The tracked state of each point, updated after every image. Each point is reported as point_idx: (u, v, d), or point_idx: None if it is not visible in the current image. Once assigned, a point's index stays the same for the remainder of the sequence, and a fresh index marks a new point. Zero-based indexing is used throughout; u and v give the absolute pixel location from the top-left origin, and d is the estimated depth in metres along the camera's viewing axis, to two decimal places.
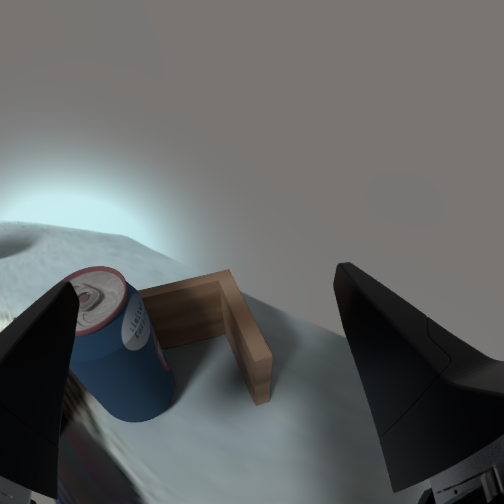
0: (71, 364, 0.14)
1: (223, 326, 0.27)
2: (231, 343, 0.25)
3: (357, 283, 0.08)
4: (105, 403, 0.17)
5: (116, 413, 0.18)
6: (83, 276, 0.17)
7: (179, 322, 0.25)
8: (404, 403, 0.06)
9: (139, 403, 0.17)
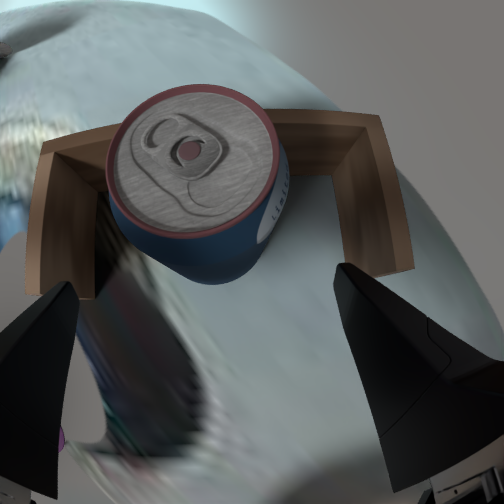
0: (153, 258, 0.10)
1: (335, 169, 0.21)
2: (341, 196, 0.20)
3: (357, 283, 0.08)
4: None
5: (188, 278, 0.17)
6: (182, 99, 0.09)
7: (289, 155, 0.18)
8: (404, 403, 0.06)
9: (228, 277, 0.16)
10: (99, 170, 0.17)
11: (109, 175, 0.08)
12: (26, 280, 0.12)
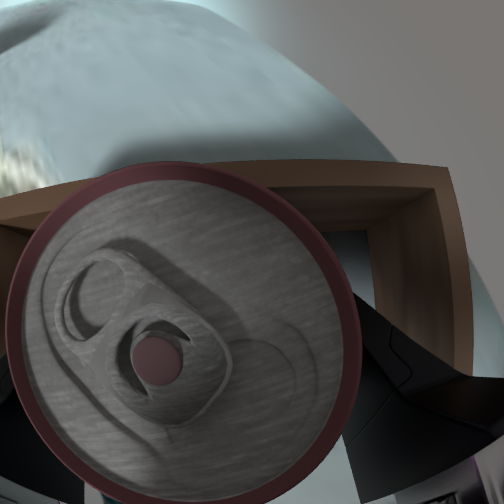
0: None
1: (373, 225, 0.15)
2: (381, 264, 0.15)
3: None
4: None
5: None
6: (131, 200, 0.04)
7: (318, 216, 0.13)
8: (365, 415, 0.05)
9: None
10: None
11: (20, 385, 0.03)
12: None
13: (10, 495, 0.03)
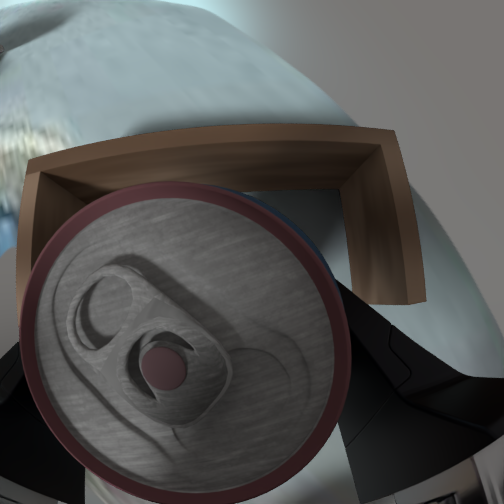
0: None
1: (343, 183, 0.19)
2: (350, 213, 0.19)
3: None
4: None
5: None
6: (136, 217, 0.04)
7: (295, 171, 0.17)
8: (364, 415, 0.05)
9: None
10: (90, 187, 0.16)
11: (35, 390, 0.04)
12: (18, 312, 0.11)
13: (10, 495, 0.03)
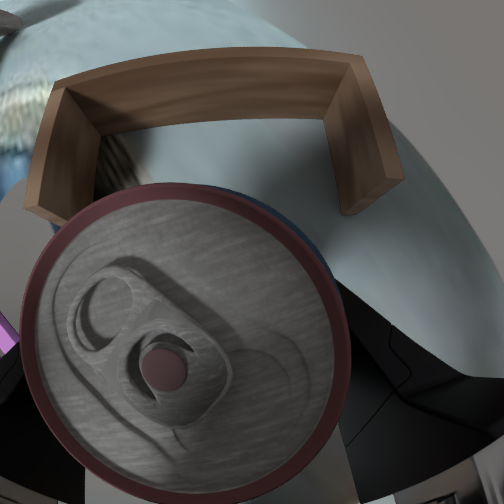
0: None
1: (325, 111, 0.21)
2: (332, 134, 0.20)
3: None
4: None
5: None
6: (136, 219, 0.04)
7: (281, 93, 0.18)
8: (364, 415, 0.05)
9: None
10: (104, 108, 0.17)
11: (35, 391, 0.04)
12: (26, 196, 0.12)
13: (10, 495, 0.03)
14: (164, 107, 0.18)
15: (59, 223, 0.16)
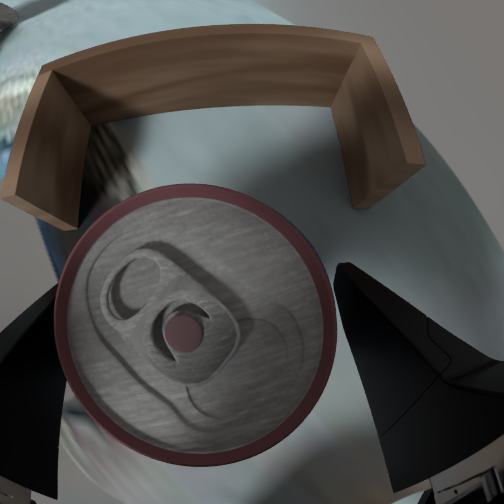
0: None
1: (333, 98, 0.19)
2: (341, 121, 0.18)
3: (357, 283, 0.08)
4: None
5: None
6: (164, 212, 0.06)
7: (285, 76, 0.16)
8: (404, 403, 0.06)
9: None
10: (94, 94, 0.15)
11: (64, 359, 0.05)
12: (4, 185, 0.10)
13: None
14: (158, 91, 0.16)
15: (41, 217, 0.14)
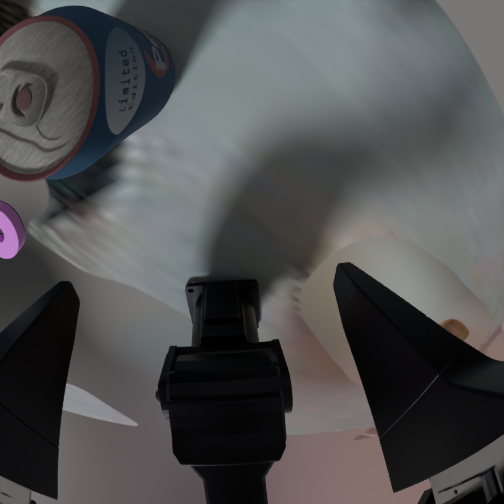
0: None
1: None
2: None
3: (357, 283, 0.08)
4: None
5: None
6: (4, 49, 0.05)
7: None
8: (404, 403, 0.06)
9: None
10: None
11: None
12: None
13: None
14: None
15: None
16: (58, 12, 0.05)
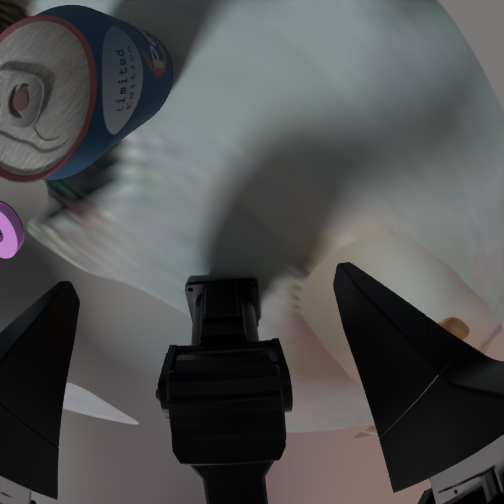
0: None
1: None
2: None
3: (357, 283, 0.08)
4: None
5: None
6: (0, 49, 0.05)
7: None
8: (404, 403, 0.06)
9: None
10: None
11: None
12: None
13: None
14: None
15: None
16: (55, 12, 0.05)
